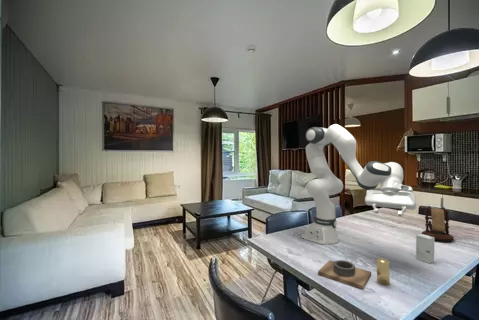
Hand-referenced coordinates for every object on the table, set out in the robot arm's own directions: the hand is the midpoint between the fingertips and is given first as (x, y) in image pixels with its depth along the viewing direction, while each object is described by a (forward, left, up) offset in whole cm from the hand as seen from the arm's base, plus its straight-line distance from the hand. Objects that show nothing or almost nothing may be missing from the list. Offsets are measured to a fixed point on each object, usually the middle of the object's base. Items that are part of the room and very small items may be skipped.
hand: (387, 214), depth 102 cm
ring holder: (-14, -18, -25) cm, 34 cm away
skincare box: (+12, +21, -26) cm, 35 cm away
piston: (0, -14, -25) cm, 29 cm away
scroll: (+16, +62, -26) cm, 69 cm away
